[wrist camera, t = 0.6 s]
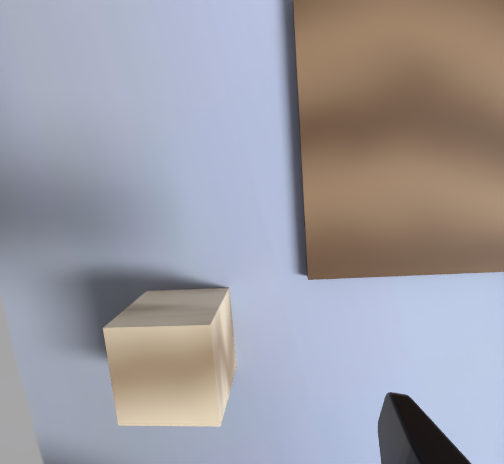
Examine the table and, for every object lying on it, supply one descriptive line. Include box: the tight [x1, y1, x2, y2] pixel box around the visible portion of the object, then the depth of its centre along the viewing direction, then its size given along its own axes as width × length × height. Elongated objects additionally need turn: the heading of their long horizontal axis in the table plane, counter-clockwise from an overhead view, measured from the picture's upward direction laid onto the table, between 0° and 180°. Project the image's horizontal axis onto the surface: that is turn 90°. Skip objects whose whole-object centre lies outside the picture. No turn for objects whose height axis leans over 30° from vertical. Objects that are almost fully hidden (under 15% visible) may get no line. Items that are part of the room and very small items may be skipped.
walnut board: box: [293, 0, 504, 280], centre depth 17 cm, size 14×14×1 cm
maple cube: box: [103, 288, 237, 426], centre depth 18 cm, size 5×5×5 cm
